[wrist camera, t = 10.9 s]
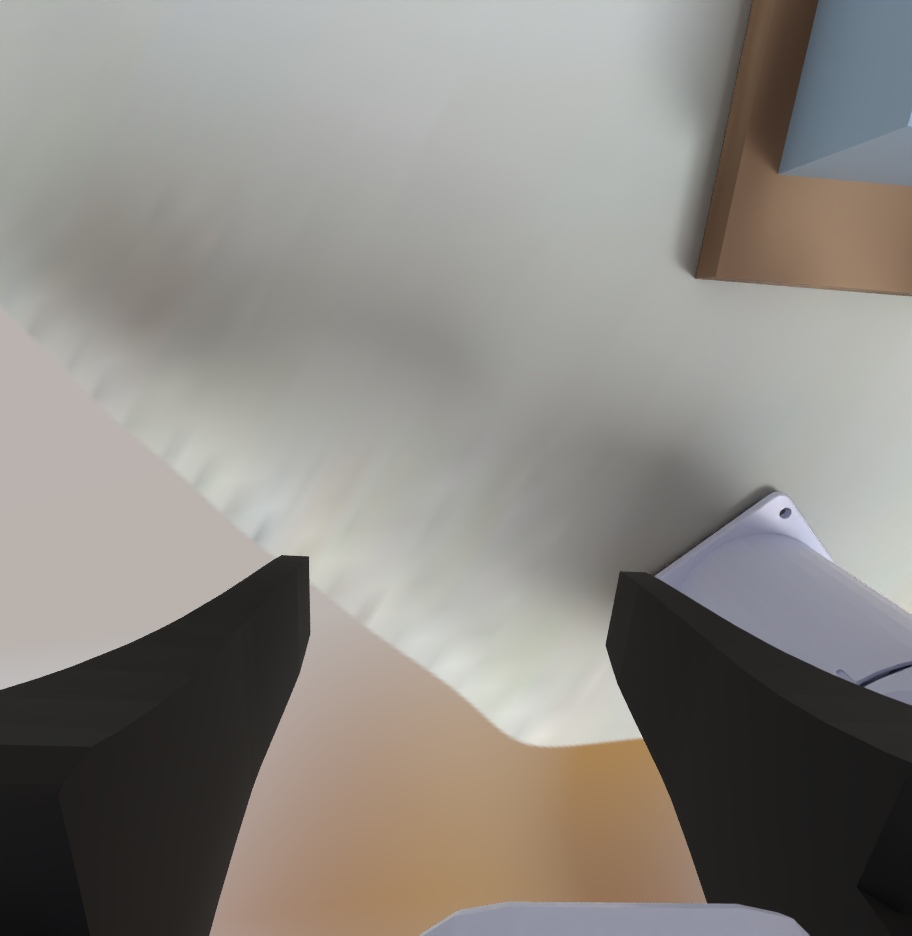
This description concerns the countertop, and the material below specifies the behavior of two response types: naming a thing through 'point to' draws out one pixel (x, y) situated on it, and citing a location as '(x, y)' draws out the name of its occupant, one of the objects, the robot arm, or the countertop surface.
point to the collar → (855, 95)
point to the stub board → (795, 185)
